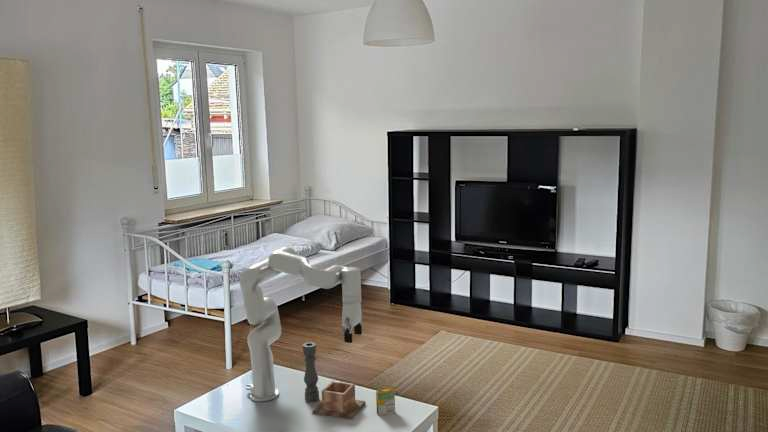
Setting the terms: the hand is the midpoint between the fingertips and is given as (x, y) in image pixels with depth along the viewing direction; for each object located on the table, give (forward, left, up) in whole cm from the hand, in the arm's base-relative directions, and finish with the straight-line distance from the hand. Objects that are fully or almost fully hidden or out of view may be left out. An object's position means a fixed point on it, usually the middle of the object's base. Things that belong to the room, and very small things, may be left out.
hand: (353, 338), depth 259 cm
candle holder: (-22, +3, -31) cm, 38 cm away
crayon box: (+13, +1, -31) cm, 34 cm away
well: (-7, -2, -31) cm, 32 cm away
